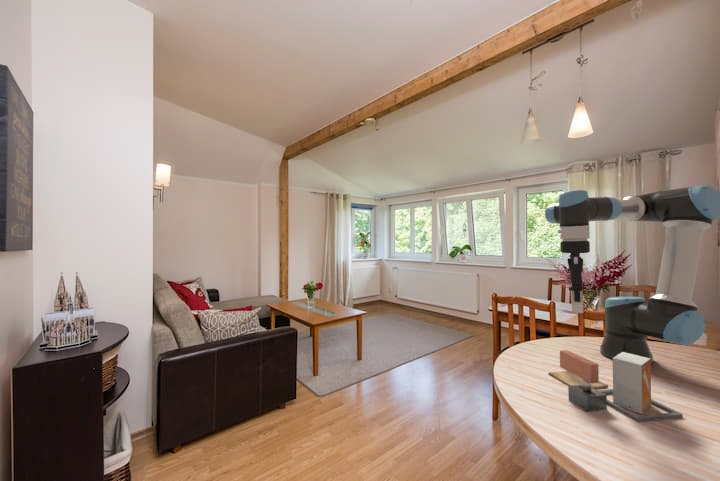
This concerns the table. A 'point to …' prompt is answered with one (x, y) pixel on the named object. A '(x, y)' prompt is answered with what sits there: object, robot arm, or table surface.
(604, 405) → the key housing
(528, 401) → the table surface
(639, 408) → the small box
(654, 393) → the table surface
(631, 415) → the seat rim
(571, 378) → the cork pad
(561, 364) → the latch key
